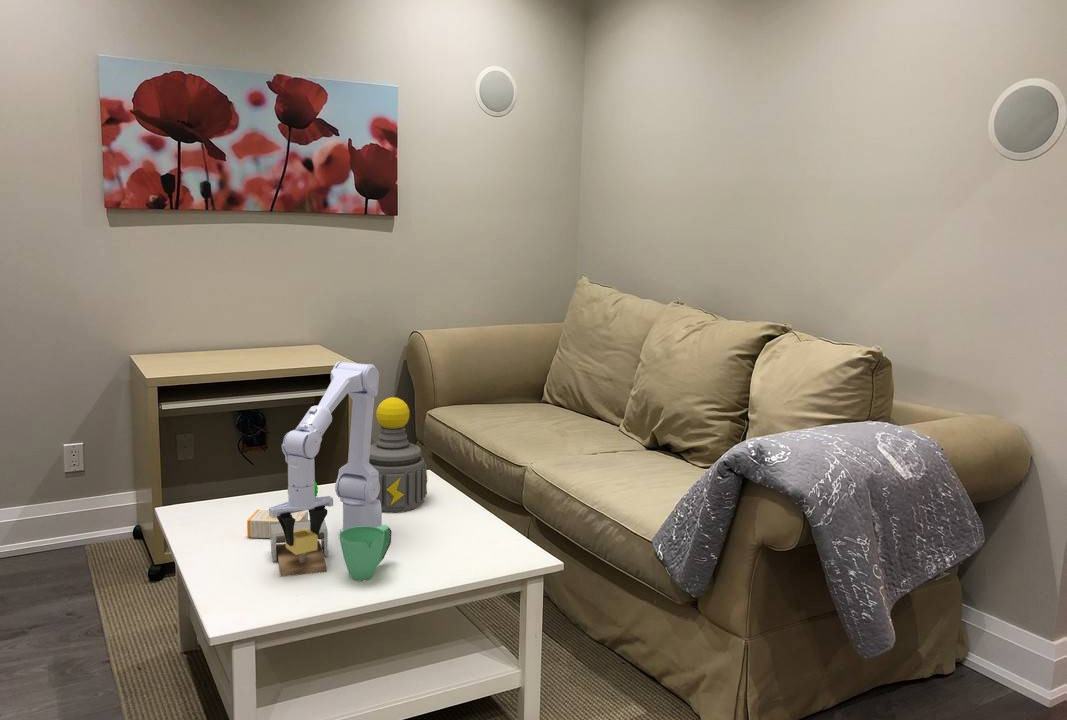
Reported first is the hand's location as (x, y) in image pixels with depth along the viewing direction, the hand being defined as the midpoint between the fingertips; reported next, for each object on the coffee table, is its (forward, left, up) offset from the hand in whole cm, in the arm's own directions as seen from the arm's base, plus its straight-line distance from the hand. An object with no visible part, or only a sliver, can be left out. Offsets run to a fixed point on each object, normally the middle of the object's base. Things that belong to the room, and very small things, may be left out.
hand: (302, 541), depth 200 cm
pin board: (0, -5, -6) cm, 8 cm away
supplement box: (+10, -27, -4) cm, 29 cm away
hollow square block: (0, 0, -2) cm, 2 cm away
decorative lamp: (-28, -41, -7) cm, 50 cm away
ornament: (-4, -45, -7) cm, 46 cm away
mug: (-14, +6, -7) cm, 17 cm away
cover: (0, -9, -6) cm, 11 cm away
